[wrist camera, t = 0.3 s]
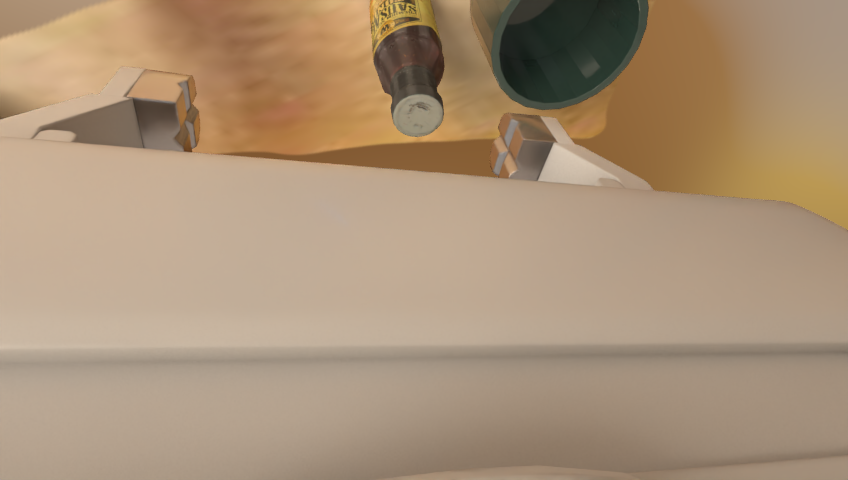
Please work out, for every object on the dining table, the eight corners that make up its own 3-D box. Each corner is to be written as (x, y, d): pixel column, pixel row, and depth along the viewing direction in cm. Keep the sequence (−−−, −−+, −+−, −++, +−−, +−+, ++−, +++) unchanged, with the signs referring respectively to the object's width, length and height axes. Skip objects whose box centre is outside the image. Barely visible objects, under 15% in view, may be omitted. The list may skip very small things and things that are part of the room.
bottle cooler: (477, -82, 44) (503, -43, 38) (625, -85, 46) (675, -49, 39) (464, 64, 55) (483, 113, 49) (583, 58, 57) (617, 105, 50)
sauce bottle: (402, -46, 45) (433, 56, 33) (440, 5, 50) (480, 113, 37) (353, -1, 48) (363, 111, 35) (392, 44, 52) (414, 159, 39)
